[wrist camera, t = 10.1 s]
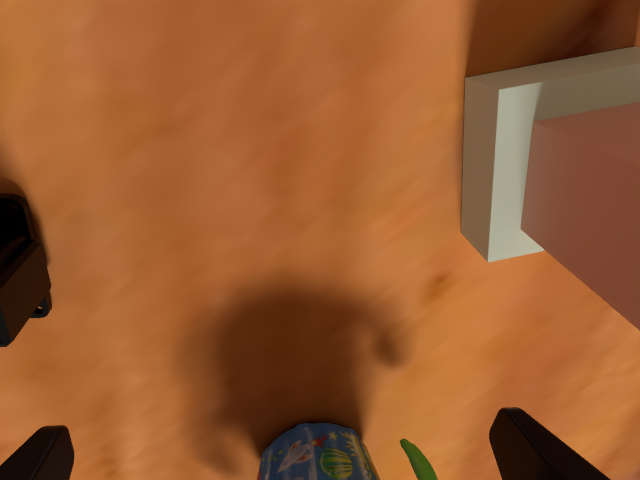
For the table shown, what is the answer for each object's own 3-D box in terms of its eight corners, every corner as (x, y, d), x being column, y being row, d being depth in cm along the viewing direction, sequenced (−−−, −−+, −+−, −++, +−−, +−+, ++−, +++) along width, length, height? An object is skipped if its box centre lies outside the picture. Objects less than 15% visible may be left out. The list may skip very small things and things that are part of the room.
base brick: (460, 232, 23) (487, 262, 20) (465, 77, 19) (499, 89, 16) (601, 204, 23) (645, 229, 20) (635, 46, 19) (696, 52, 16)
